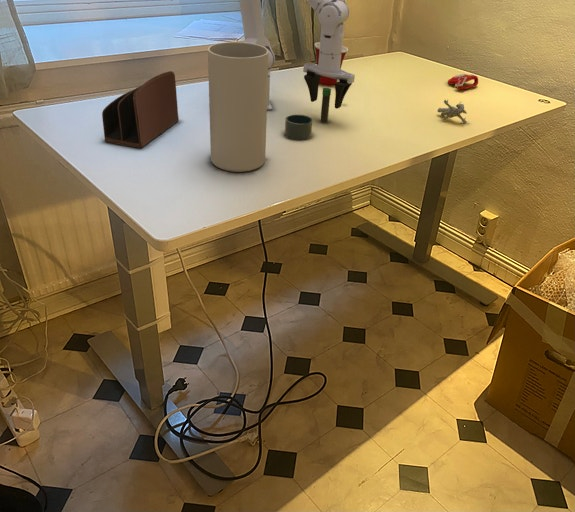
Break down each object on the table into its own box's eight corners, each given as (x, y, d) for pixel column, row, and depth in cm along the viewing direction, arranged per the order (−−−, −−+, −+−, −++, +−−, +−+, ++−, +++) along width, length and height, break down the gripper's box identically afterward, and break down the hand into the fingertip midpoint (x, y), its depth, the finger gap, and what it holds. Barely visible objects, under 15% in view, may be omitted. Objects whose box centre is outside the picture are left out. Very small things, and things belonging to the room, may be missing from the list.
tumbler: (287, 140, 140) (288, 124, 137) (282, 130, 145) (283, 114, 143) (313, 139, 141) (314, 124, 139) (308, 129, 146) (309, 114, 144)
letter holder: (179, 121, 147) (176, 67, 139) (141, 149, 131) (135, 90, 123) (145, 115, 149) (140, 61, 141) (104, 142, 133) (96, 83, 125)
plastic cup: (345, 89, 176) (350, 50, 169) (311, 87, 175) (314, 48, 169) (343, 79, 185) (347, 42, 178) (311, 77, 184) (313, 40, 178)
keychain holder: (442, 77, 188) (470, 70, 188) (443, 90, 190) (471, 83, 190) (456, 79, 177) (486, 72, 177) (458, 93, 179) (487, 86, 179)
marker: (320, 123, 151) (323, 90, 146) (319, 120, 153) (322, 87, 148) (328, 123, 151) (331, 90, 146) (326, 120, 153) (330, 87, 148)
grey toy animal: (456, 114, 163) (477, 114, 154) (445, 131, 162) (466, 131, 154) (435, 92, 158) (455, 91, 150) (423, 110, 158) (443, 109, 150)
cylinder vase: (237, 145, 135) (237, 39, 121) (276, 161, 129) (281, 51, 115) (199, 161, 127) (195, 48, 113) (238, 178, 121) (239, 61, 107)
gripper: (362, 54, 141) (356, 106, 149) (315, 44, 147) (311, 94, 155) (349, 60, 136) (343, 113, 144) (300, 48, 143) (297, 100, 150)
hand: (325, 104), depth 149 cm, fingers open, 7 cm apart
